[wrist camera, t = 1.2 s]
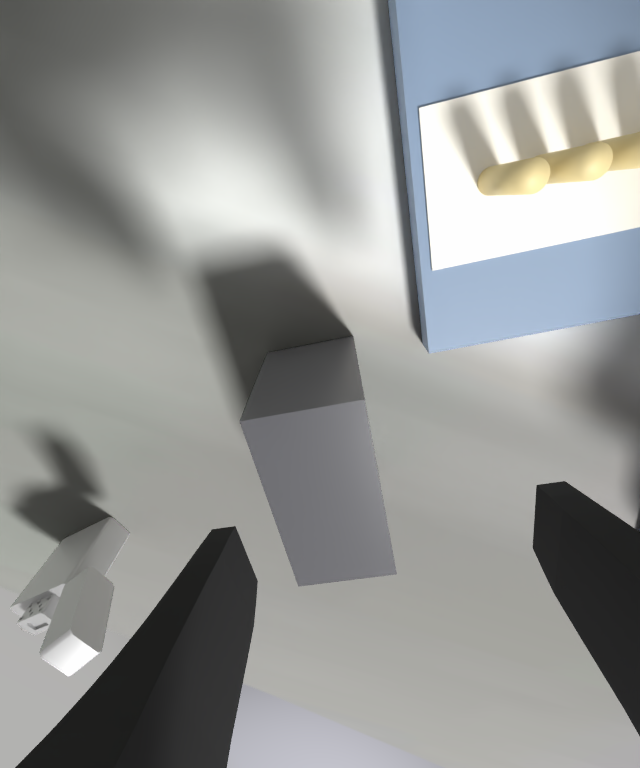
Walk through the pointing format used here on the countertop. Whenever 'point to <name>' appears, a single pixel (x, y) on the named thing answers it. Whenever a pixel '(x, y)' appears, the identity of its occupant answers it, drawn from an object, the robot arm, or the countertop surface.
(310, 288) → the countertop surface
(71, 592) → the lighter
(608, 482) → the countertop surface
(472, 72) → the header board
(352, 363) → the block
